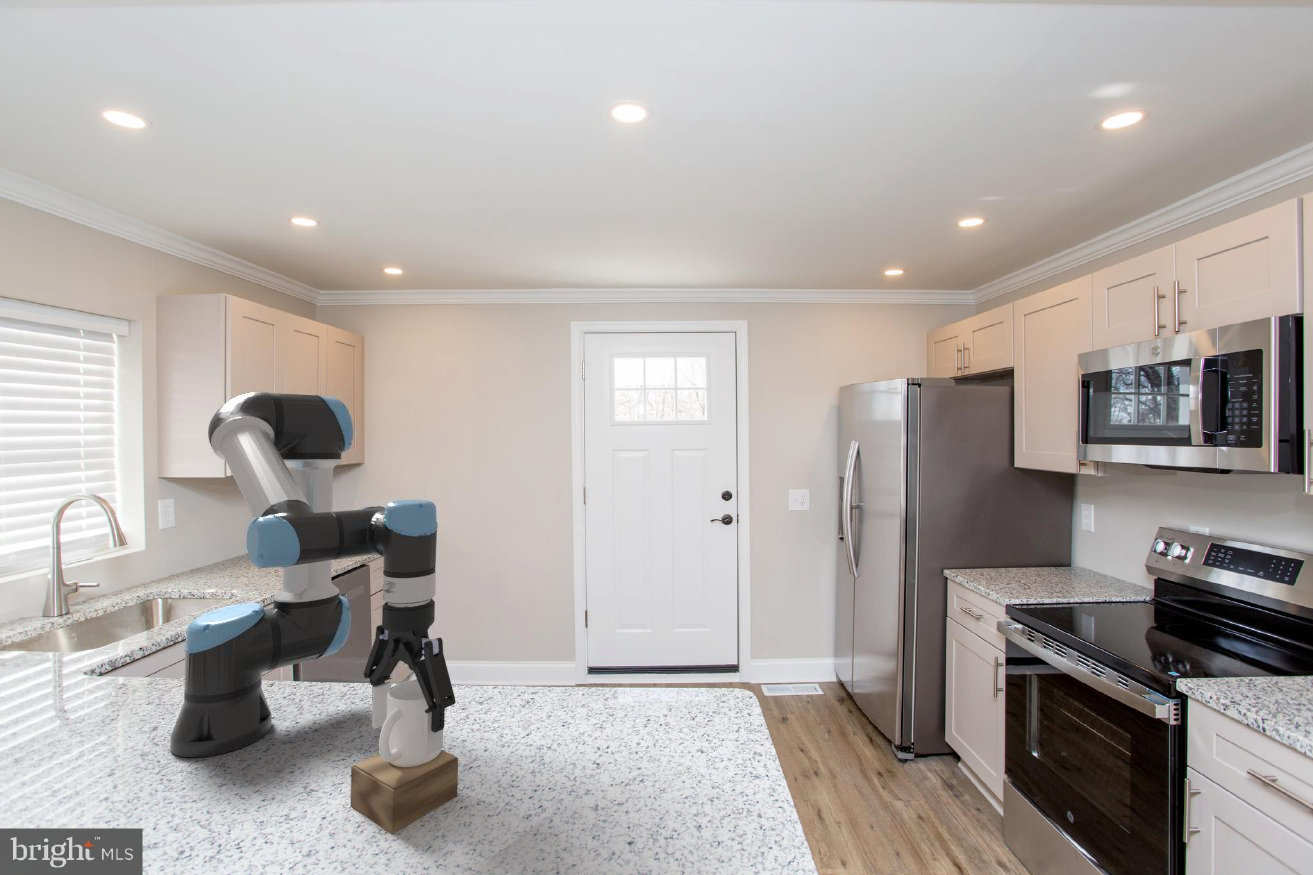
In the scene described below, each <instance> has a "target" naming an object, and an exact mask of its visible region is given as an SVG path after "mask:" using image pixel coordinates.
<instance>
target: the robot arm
mask: <svg viewBox="0 0 1313 875" xmlns="http://www.w3.org/2000/svg"><path fill="white" fill-rule="evenodd" d="M353 426H354V425H353V421H352V417H351V414H350V411H349V409H348V408H347V406H346V405H345V403H344V402H343V401H342V400H340V399H339V398H337V397H333V396H332V397H331V396H324V395H321V394H320V395H318V394H311V395H310V394H293V393H280V392H279V393H278V392H267V391H255V392H254V391H252V392H248V393H245V394H240V395H238V396H236V397H233V398H232V399H230V400H228V401H226V402H225V403H224V404H223V405H221V406H220V407H219V408H218V409H217V411H216V412H215V413H214V414H213V416H212V418H211V420H210V422H209V425H208V428H207V435H208V442H209V444H210V447H211V449H212V451H213V453H214V454H215V455H216V457H218V458H219V459H221V460H223V461H225V462H226V464H227V465H228V468H229V470H230V472H231V475H232V477H233V478H234V480H235V482H236V485H237V487H238V488H239V491H240V492H241V494H242V497H243V499H244V502H245V503H246V504H247V507H248V509H249V511H250V513H251V516H252V518H253V519H252V520H251V521H250V523H249V525H248V528H247V532H246V550H247V555H248V559H249V562H250V563H251V565H253V566H255V567H256V568H258V569H268V568H269V569H270V568H278V567H279V568H282V587H281V589H280V590H279V591H278V592H277V593H276V594H275V595H274V596H273V602H272V604H273V606H272V607H270V608H265V607H264V606H263V605H262V604H261V603H258V602H246V603H238V604H237V603H236V604H231V605H227V606H223V607H219V608H216V609H214V610H210V611H208V612H206V613H204V614H201V615H200V616H198V617H196V618H194V619H193V620H192V621H191V622H190V623H189V624H188V626H187V629H186V634H185V644H184V646H183V652H184V653H185V657H184V687H183V688H184V692H183V693H184V696H183V698H184V699H183V704H182V706H181V709H180V711H179V714H178V717H177V720H176V721H175V724H174V727H173V728H172V729H173V730H172V732H171V735H170V745H169V746H170V748H169V749H170V752H171V753H172V754H174V755H175V756H178V757H184V758H201V757H202V758H205V757H209V756H210V757H212V756H216V755H221V754H224V753H229V752H232V751H235V750H239V749H241V748H243V747H246V746H248V745H251V744H254V743H255V742H257V741H258V740H260V739H262V738H263V737H264V736H266V735H267V734H268V733H269V732H270V730H271V729H272V720H273V719H272V711H271V708H270V707H269V704H268V701H267V698H266V696H265V693H264V690H263V688H262V686H263V685H262V683H263V682H262V680H263V679H262V678H263V672H268V671H272V670H276V669H280V668H285V667H288V666H291V665H296V664H300V663H304V662H309V661H317V660H320V659H322V658H324V657H327V656H331V655H334V654H337V653H338V652H339V651H340V650H341V649H342V648H343V646H344V645H345V643H346V641H347V639H348V637H349V634H350V630H351V629H350V628H351V622H352V620H351V619H352V618H351V617H352V615H351V613H352V612H351V610H350V603H349V601H348V599H347V598H345V597H344V596H342V595H340V589H339V588H338V587H337V586H335V585H334V584H333V583H332V565H333V564H332V561H335V560H336V561H337V560H344V559H350V558H351V559H352V558H358V557H366V556H368V557H369V556H373V555H374V556H375V555H377V556H380V557H381V556H382V557H383V570H382V571H383V572H382V573H383V585H382V590H383V592H382V600H383V601H384V603H383V605H382V611H381V612H382V616H381V624H380V625H377V626H376V628H375V639H374V641H373V645H372V647H371V651H370V654H369V657H368V659H367V662H366V665H365V668H364V671H363V677H364V679H369V684H370V685H371V687H372V689H371V690H372V692H371V693H372V695H371V696H372V698H371V701H372V704H371V705H372V706H371V712H372V713H371V714H372V715H371V728H372V729H374V730H375V729H377V728H380V727H383V724H384V722H385V720H386V719H387V693H388V691H389V690H390V689H391V688H392V682H391V681H389V680H392V677H391V675H392V673H393V672H394V670H395V669H396V667H397V666H398V664H399V662H403V663H404V664H405V665H407V667H408V669H409V670H410V671H413V673H414V674H415V678H416V679H417V680H418V683H419V685H420V688H421V690H422V693H423V695H424V698H425V700H426V703H427V705H428V708H427V709H426V710H425V713H424V755H426V756H427V755H429V754H432V753H434V752H436V751H438V750H440V749H442V750H443V744H444V743H443V742H444V729H445V718H446V716H445V715H446V714H445V713H446V712H445V711H446V708H450V707H451V706H454V705H455V704H456V696H455V693H454V688H453V686H452V681H451V678H450V674H449V670H448V666H447V663H446V659H445V656H444V654H445V653H444V641H443V638H442V637H436V638H434V639H433V638H430V635H429V629H430V628H431V626H432V625H433V624H434V622H435V619H436V616H435V614H436V613H435V612H436V601H435V600H434V597H435V596H436V593H437V591H436V589H437V588H436V587H437V586H436V583H437V582H436V581H437V580H436V579H437V578H436V577H437V576H436V574H437V573H436V563H437V540H438V539H437V538H438V537H437V536H438V533H437V532H438V528H439V525H438V521H437V506H436V504H435V503H434V502H433V501H431V500H426V499H422V500H420V499H401V500H391V501H390V502H387V504H386V505H385V506H381V505H378V506H377V505H376V506H364V507H361V508H359V509H352V510H342V511H340V510H338V511H333V496H334V495H333V492H334V491H333V489H334V488H333V487H334V486H333V485H334V484H333V483H334V482H333V481H334V477H333V476H334V475H333V472H334V468H335V467H336V466H337V465H338V464H339V463H340V462H342V453H345V452H347V451H349V450H350V449H351V447H352V445H353V444H352V442H353V440H354V427H353ZM434 699H435V701H434Z"/></svg>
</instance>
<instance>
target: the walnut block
mask: <svg viewBox="0 0 1313 875" xmlns="http://www.w3.org/2000/svg"><path fill="white" fill-rule="evenodd" d="M350 768H351V769H350V770H351V772H350V774H351V775H350V807H351V808H352V809H353V810H355V811H356V812H358V813H360V814H361V815H363V816H364V817H366V818H367V819H368V820H370V821H371V822H373V823H375V824H376V825H377V826H380V827H381V828H382V829H384V830H385V831H386V832H388V833H390V834H391V835H394V834H396V833H397V832H399V831H401V830H403V829H404V828H405V827H407V826H409V825H411V824H413V823H414V822H416V821H418V820H420V819H421V818H423V817H424V816H426V815H427V814H429V813H431V812H433V811H435V810H436V809H438V808H439V807H441V806H443V805H445V804H446V803H449V802H450V801H452V800H454V799H455V798H457V797H458V790H459V789H458V787H459V786H458V784H459V780H458V779H459V778H458V777H459V758H458V757H457V756H455V755H454V754H452V753H449V752H447V751H446V750H443V749H442V750H441V752H440V754H439V755H438V756H437V757H436V758H435V759H433V760H432V761H430V762H428V763H426V764H423V765H420V766H416V767H397V766H394V765H392V764H391V763H390V762H386V761H384V760H383V759H382V758H381V756H380V753H376V754H375V755H372V756H370V757H368V758H366V759H363V760H361V761H359V762H356V763H355V764H354V765H352V766H350Z"/></svg>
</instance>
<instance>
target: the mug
mask: <svg viewBox="0 0 1313 875" xmlns="http://www.w3.org/2000/svg"><path fill="white" fill-rule="evenodd" d="M434 701H435V699H434ZM427 708H428V705H427V703H426V700H425V698H424V695H423V693H422V690H421V688H420V685H419V683H418V680H417V678H416V679H411V680H406V681H403V682H399V683H397V684H395V685H394V686H391V689H390V690H389V691H388V693H387V719H386V720H385V722H384V724H383V726H381V727H382V728H381V729H380V734H379V739H378V740H379V741H378V751H379V753H380V756H381V758H382V759H383V760H384V761H386V762H390V763H391V764H392V765H394V766H397V767H416V766H420V765H423V764H426V763H428V762H430V761H432V760H433V759H435V758H436V757H437V756H438V755H439V754H440V752H441V750H443V748H442V749H440V750H438V751H436V752H434V753H432V754H429V755H427V756H426V755H424V713H425V710H426V709H427ZM379 753H378V754H379Z"/></svg>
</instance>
